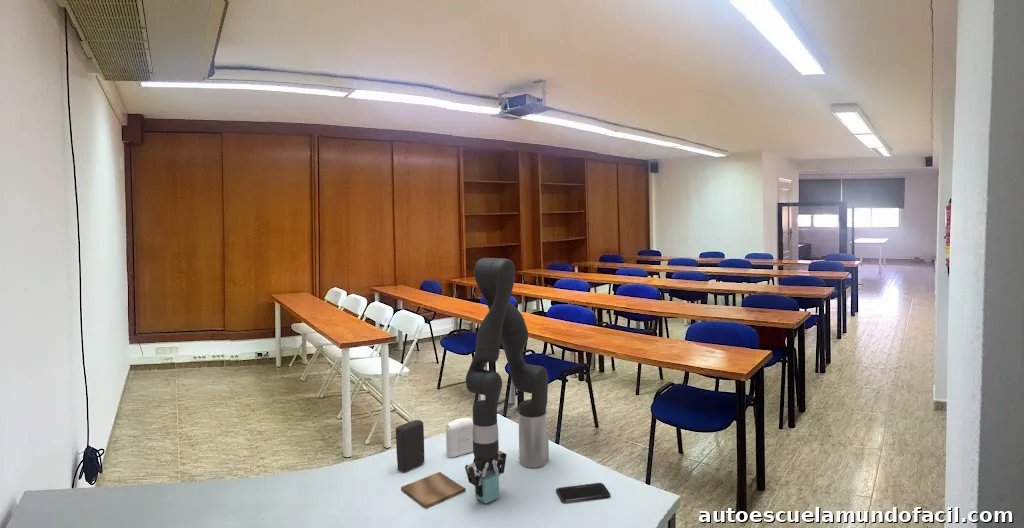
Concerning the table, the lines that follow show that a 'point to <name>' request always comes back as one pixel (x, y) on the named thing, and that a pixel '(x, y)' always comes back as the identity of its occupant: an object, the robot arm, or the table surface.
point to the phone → (582, 493)
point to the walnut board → (432, 489)
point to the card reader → (410, 445)
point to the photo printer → (459, 437)
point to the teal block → (489, 487)
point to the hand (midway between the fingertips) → (487, 492)
